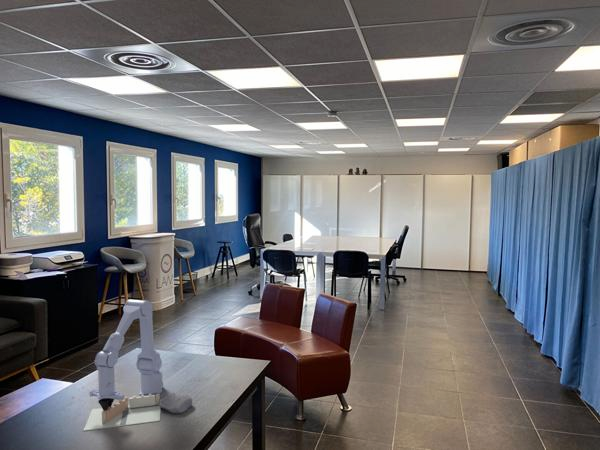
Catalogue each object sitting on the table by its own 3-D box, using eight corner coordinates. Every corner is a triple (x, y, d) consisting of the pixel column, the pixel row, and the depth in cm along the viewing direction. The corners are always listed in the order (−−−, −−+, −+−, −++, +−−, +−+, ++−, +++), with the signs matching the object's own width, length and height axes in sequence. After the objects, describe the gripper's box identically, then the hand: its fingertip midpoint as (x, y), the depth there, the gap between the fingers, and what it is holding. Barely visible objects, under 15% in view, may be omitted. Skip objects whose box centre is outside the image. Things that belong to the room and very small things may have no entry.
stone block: (180, 419, 170) (194, 403, 179) (179, 408, 169) (193, 393, 178) (156, 414, 174) (170, 399, 183) (154, 404, 173) (169, 389, 182)
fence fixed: (160, 404, 179) (159, 392, 179) (159, 406, 178) (159, 394, 177) (124, 408, 175) (124, 396, 175) (124, 410, 174) (124, 398, 174)
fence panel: (123, 409, 174) (122, 398, 174) (125, 409, 173) (125, 398, 173) (101, 423, 162) (100, 411, 162) (104, 424, 162) (103, 412, 162)
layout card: (161, 401, 182) (161, 400, 182) (159, 421, 166) (159, 420, 166) (92, 409, 174) (92, 408, 174) (83, 431, 158) (83, 430, 158)
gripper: (83, 383, 164) (84, 418, 165) (115, 388, 160) (115, 423, 161) (96, 376, 171) (97, 409, 171) (127, 380, 167) (128, 414, 168)
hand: (107, 415), depth 167 cm, fingers closed
